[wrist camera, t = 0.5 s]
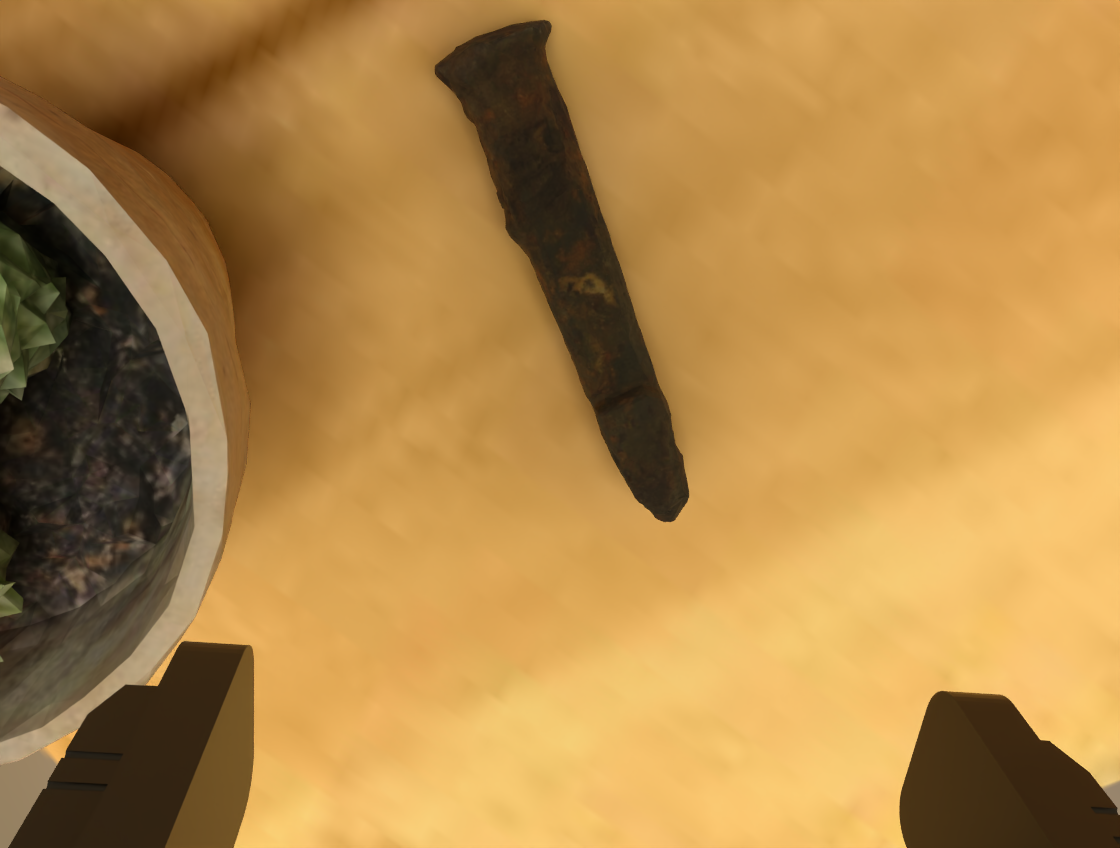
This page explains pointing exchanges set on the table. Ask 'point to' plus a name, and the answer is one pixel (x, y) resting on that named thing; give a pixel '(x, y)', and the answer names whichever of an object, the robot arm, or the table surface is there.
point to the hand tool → (569, 249)
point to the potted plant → (104, 419)
